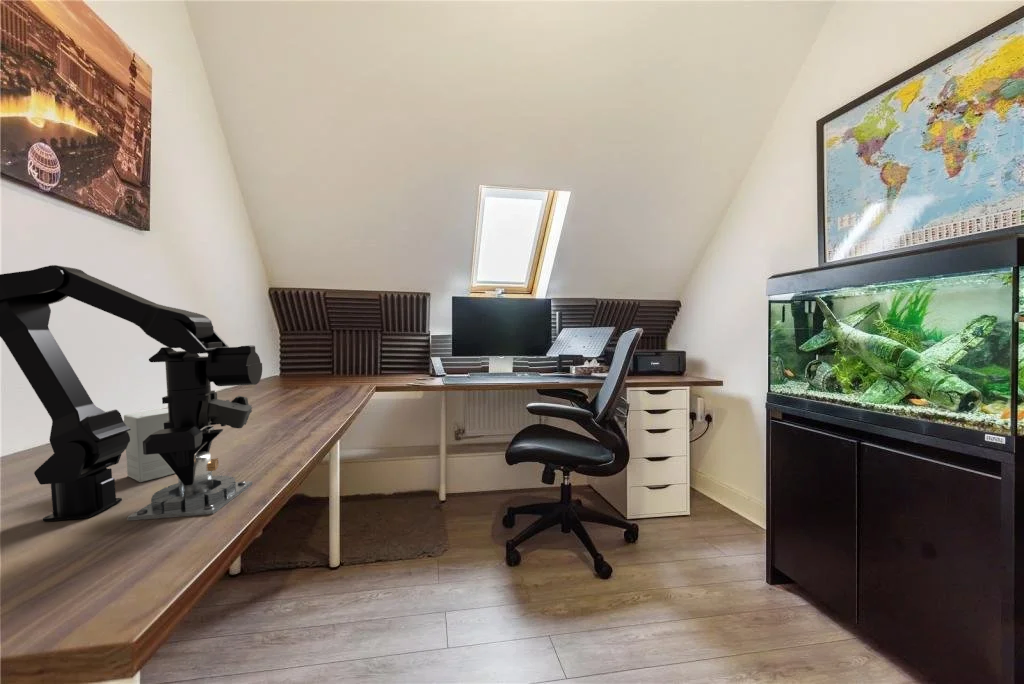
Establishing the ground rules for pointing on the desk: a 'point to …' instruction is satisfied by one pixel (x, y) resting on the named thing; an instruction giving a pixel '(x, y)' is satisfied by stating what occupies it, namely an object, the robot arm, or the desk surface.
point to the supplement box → (141, 428)
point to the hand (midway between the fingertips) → (194, 479)
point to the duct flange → (191, 500)
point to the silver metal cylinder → (200, 475)
